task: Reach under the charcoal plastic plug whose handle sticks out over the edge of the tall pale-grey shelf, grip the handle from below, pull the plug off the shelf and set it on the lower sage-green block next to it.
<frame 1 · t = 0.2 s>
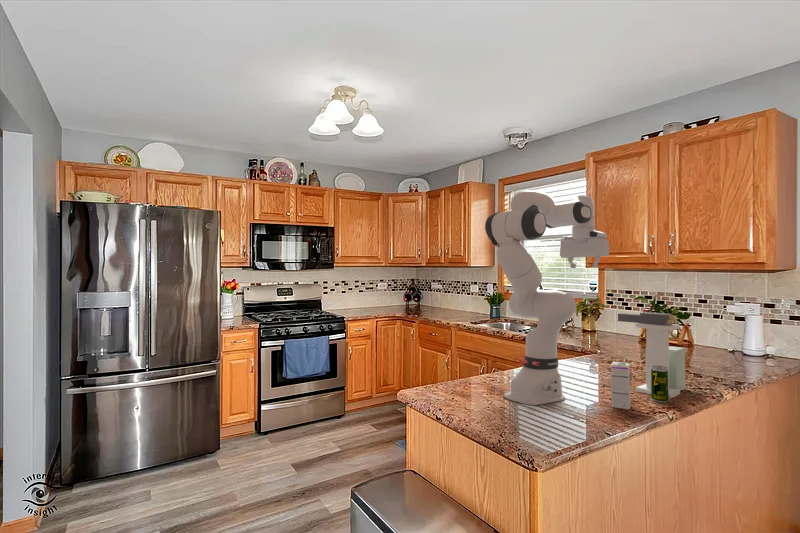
hand: (583, 267, 181), 47 cm above the counter, tool pointing down, fingers open, 8 cm apart
socket block: (665, 387, 171), on the counter
beer can: (659, 401, 154), on the counter
plug: (660, 324, 164), point 26 cm above the counter, touching tall shelf
tall shelf: (657, 392, 164), on the counter
syrup box: (620, 406, 148), on the counter
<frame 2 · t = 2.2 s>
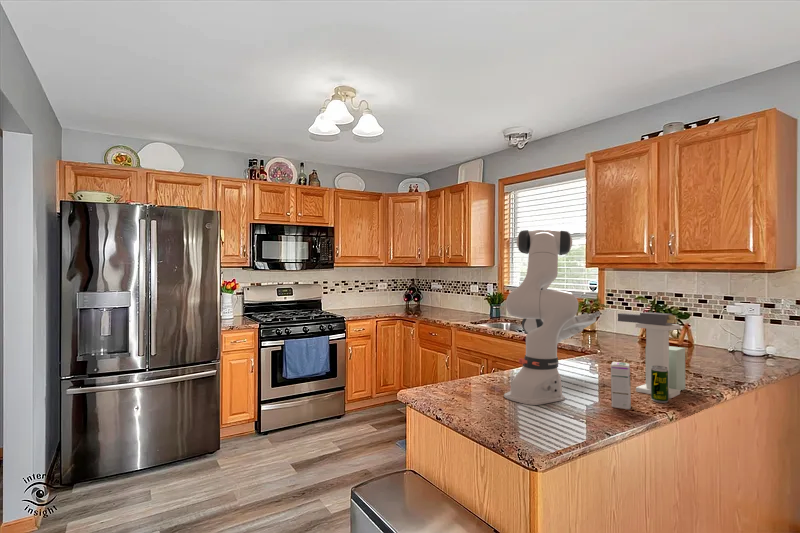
hand: (593, 313, 184), 28 cm above the counter, tool pointing upward, fingers open, 8 cm apart
nothing on the counter moved.
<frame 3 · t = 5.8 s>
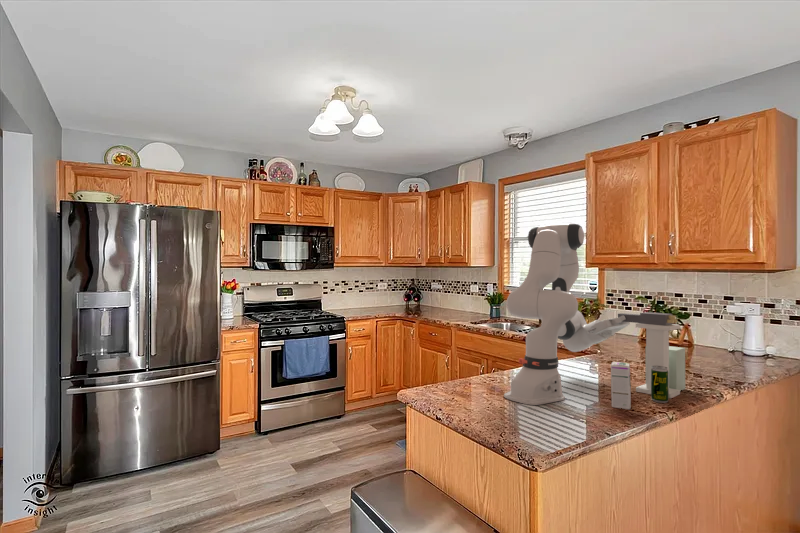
hand: (628, 316, 173), 28 cm above the counter, tool pointing upward, fingers closed on plug, 3 cm apart
plug: (660, 324, 164), point 26 cm above the counter, touching gripper, tall shelf
everything else where it was.
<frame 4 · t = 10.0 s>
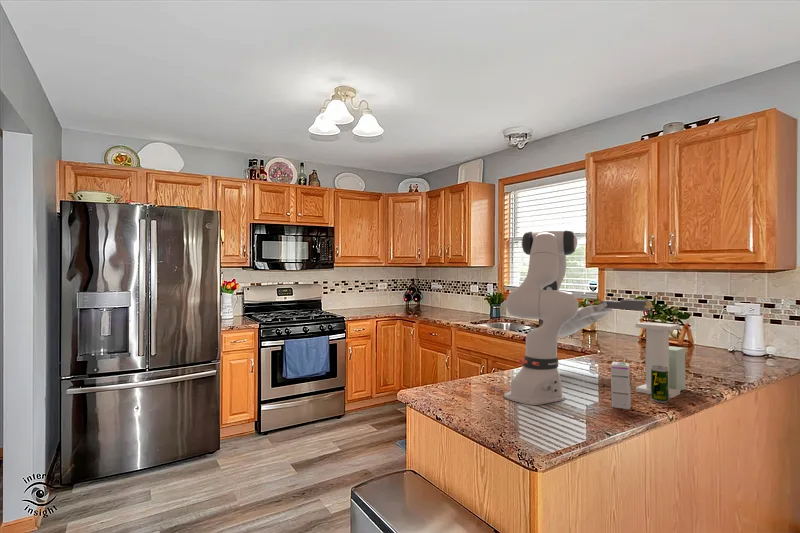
hand: (609, 303, 189), 32 cm above the counter, tool pointing upward, fingers closed on plug, 3 cm apart
plug: (638, 309, 180), point 30 cm above the counter, touching gripper
everything else where it was.
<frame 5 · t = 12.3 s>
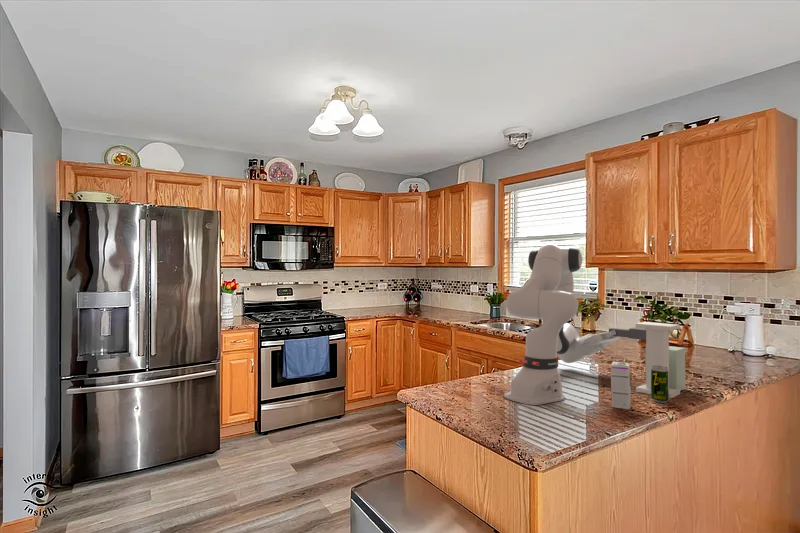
hand: (618, 331, 186), 20 cm above the counter, tool pointing upward, fingers closed on plug, 3 cm apart
plug: (647, 339, 177), point 18 cm above the counter, touching gripper
everything else where it was.
when the fingers open (19 cm above the counter, at t = 14.4 s): plug drops 1 cm, resting on socket block.
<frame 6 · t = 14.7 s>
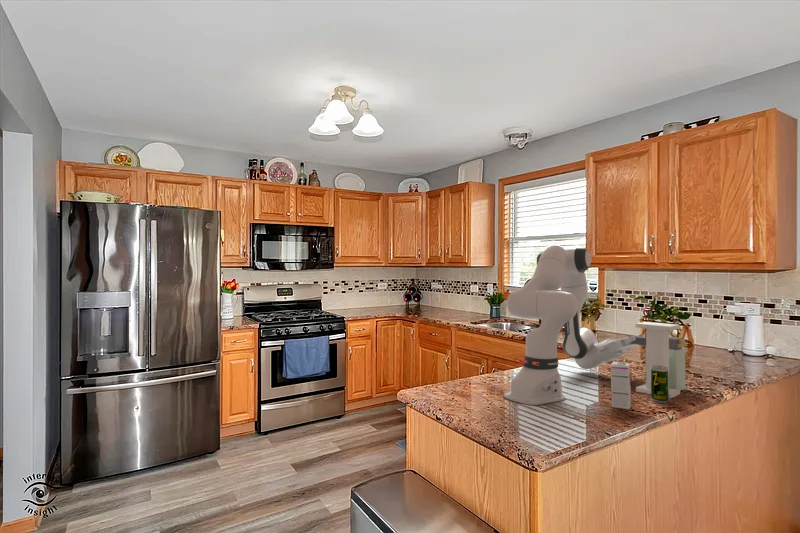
hand: (639, 336, 179), 19 cm above the counter, tool pointing upward, fingers open, 6 cm apart
plug: (670, 347, 170), point 16 cm above the counter, touching socket block
everything else where it was.
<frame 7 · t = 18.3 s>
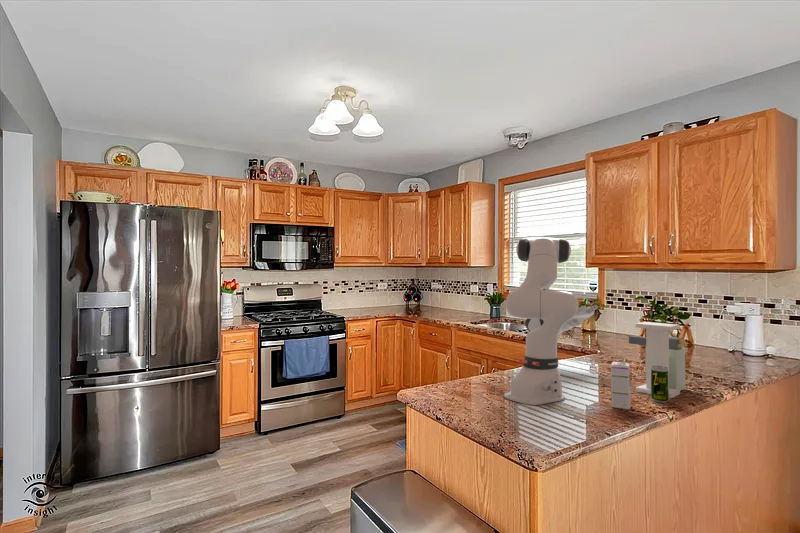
hand: (591, 306, 195), 30 cm above the counter, tool pointing upward, fingers open, 8 cm apart
nothing on the counter moved.
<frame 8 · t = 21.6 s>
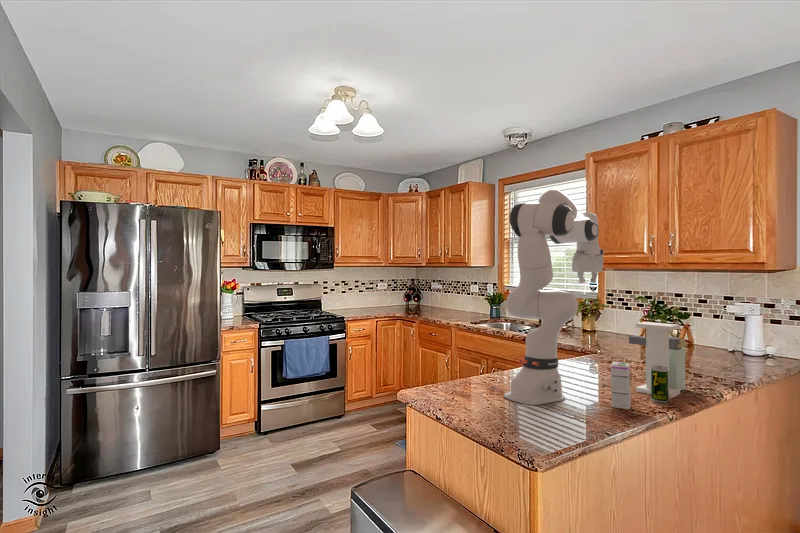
hand: (587, 282, 187), 41 cm above the counter, tool pointing down, fingers open, 8 cm apart
nothing on the counter moved.
at the end: plug inside the target area on the socket block (0.4 cm from its centre), point 16.0 cm above the socket block's base; plug touching socket block; plug tilted 0° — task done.
